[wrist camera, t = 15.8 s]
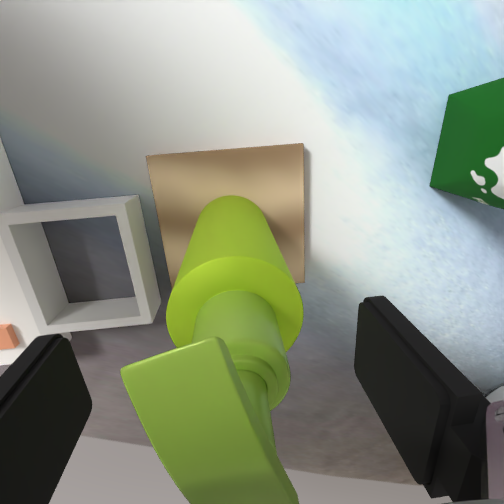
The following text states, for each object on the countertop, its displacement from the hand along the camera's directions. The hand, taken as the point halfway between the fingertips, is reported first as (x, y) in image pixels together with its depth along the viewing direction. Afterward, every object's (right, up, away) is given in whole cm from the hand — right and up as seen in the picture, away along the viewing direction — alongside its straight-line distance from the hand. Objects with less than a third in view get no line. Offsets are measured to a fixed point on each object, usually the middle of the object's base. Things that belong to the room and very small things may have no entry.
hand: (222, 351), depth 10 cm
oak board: (-1, +6, +16) cm, 17 cm away
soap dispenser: (-1, +6, +15) cm, 16 cm away
